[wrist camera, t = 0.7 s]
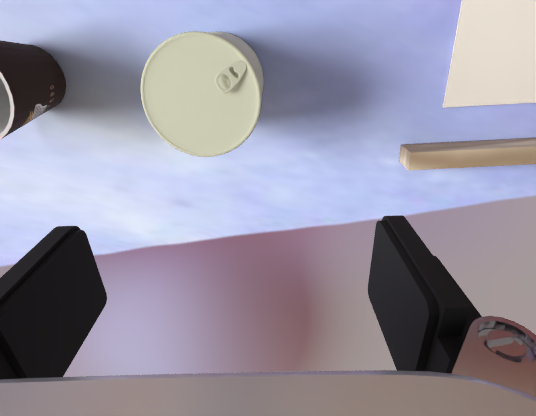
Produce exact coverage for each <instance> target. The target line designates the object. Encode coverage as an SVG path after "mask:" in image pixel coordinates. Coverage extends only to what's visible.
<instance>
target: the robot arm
mask: <svg viewBox="0 0 536 416" xmlns="http://www.w3.org/2000/svg"><path fill="white" fill-rule="evenodd" d="M368 294H369V298H370V301H371V304H372V306H373V309H374V312H375V314H376V316H377V319H378V322H379V325H380V327H381V330H382V332H383V335H384V338H385V340H386V343H387V346H388V348H389V351H390V354H391V356H392V359H393V361H394V364H395V367H396V369H397V371H386V370H380V371H376V370H375V371H296V372H295V371H294V372H246V373H245V372H241V373H201V374H200V373H199V374H159V375H120V376H87V377H63V375H64V374H65V372H66V370H67V369H68V367H69V365H70V364H71V362H72V360H73V359H74V357H75V355H76V354H77V352H78V350H79V349H80V347H81V345H82V344H83V342H84V340H85V339H86V337H87V335H88V333H89V332H90V330H91V328H92V327H93V325H94V323H95V322H96V320H97V318H98V317H99V315H100V313H101V312H102V310H103V308H104V306H105V304H106V301H107V296H106V292H105V288H104V285H103V283H102V280H101V277H100V274H99V271H98V268H97V265H96V262H95V259H94V256H93V253H92V250H91V247H90V244H89V241H88V238H87V235H86V233H85V232H84V231H83V230H80V228H79V227H77V226H59V227H56V228H54V229H53V230H52V231H51V232H50V233H49V234H48V235H46V236H45V237H44V238H43V239H42V240H41V241H40V242H39V243H38V244H37V245H36V246H35V247H33V248H32V249H31V250H30V251H29V252H28V253H27V254H26V255H25V256H24V257H23V258H22V259H20V260H19V261H18V262H17V263H16V264H15V265H14V266H13V267H12V268H11V269H10V270H9V271H8V272H6V273H5V274H4V275H3V276H2V277H1V278H0V416H536V335H535V334H534V333H532V332H531V331H530V330H528V329H527V328H525V327H524V326H522V325H520V324H518V323H515V322H514V321H511V320H508V319H505V318H501V317H494V316H486V317H482V316H481V315H480V314H479V312H478V311H477V310H476V308H475V307H474V306H473V304H472V303H471V302H470V300H469V299H468V298H467V296H466V295H465V294H464V292H463V291H462V290H461V288H460V287H459V286H458V284H457V283H456V282H455V280H454V279H453V278H452V276H451V275H450V274H449V272H448V271H447V270H446V268H445V267H444V266H443V265H442V263H441V262H440V260H439V259H438V258H437V257H436V256H433V255H432V254H431V252H430V251H429V250H428V248H427V247H426V245H425V244H424V243H423V241H422V240H421V239H420V237H419V236H418V235H417V233H416V232H415V231H414V229H413V228H412V227H411V225H410V224H409V222H408V221H407V220H406V218H405V217H404V216H384V217H383V219H382V221H377V224H376V230H375V237H374V246H373V253H372V261H371V268H370V275H369V283H368Z"/></svg>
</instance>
